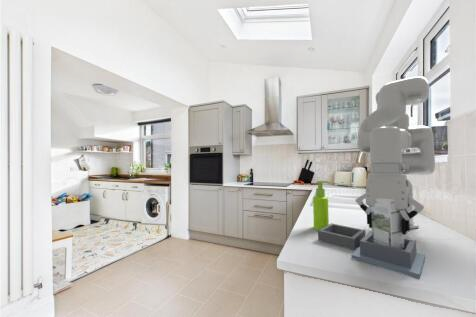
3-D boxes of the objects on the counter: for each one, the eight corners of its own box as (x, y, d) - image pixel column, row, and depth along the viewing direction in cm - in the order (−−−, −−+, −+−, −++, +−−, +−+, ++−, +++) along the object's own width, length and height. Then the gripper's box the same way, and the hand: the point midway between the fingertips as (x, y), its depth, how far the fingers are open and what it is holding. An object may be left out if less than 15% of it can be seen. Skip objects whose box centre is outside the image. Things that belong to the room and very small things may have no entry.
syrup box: (405, 248, 58) (404, 197, 58) (391, 252, 56) (389, 199, 56) (385, 241, 63) (383, 194, 64) (371, 244, 61) (370, 195, 62)
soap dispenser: (332, 231, 83) (330, 181, 83) (313, 229, 85) (312, 181, 85) (330, 227, 88) (329, 180, 89) (313, 225, 91) (312, 180, 91)
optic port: (366, 243, 70) (365, 228, 70) (425, 257, 59) (424, 240, 60) (351, 258, 60) (350, 240, 60) (419, 278, 49) (419, 257, 49)
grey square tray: (331, 232, 82) (331, 223, 82) (365, 239, 73) (365, 230, 73) (318, 240, 74) (318, 230, 74) (354, 250, 65) (354, 239, 65)
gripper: (426, 169, 57) (428, 234, 56) (356, 168, 69) (358, 221, 69) (424, 170, 51) (426, 241, 51) (349, 169, 64) (350, 226, 63)
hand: (387, 229), depth 60 cm, fingers closed on syrup box, 7 cm apart
